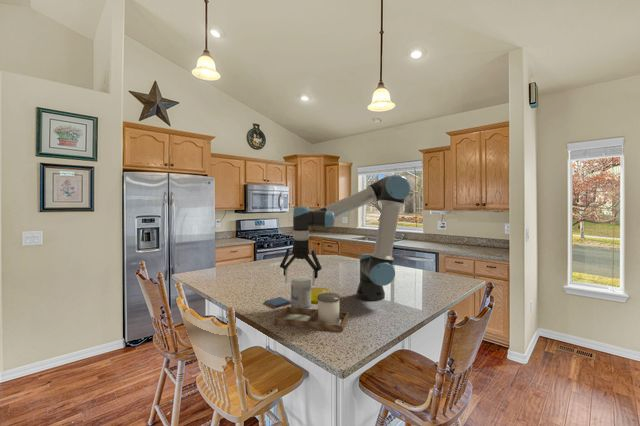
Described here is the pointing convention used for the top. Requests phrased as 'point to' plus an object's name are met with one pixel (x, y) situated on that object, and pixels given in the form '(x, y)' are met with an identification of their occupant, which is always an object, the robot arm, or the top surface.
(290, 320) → the crate
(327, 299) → the canister
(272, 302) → the woven mat
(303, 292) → the supplement tub
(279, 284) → the top surface
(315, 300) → the element tile
